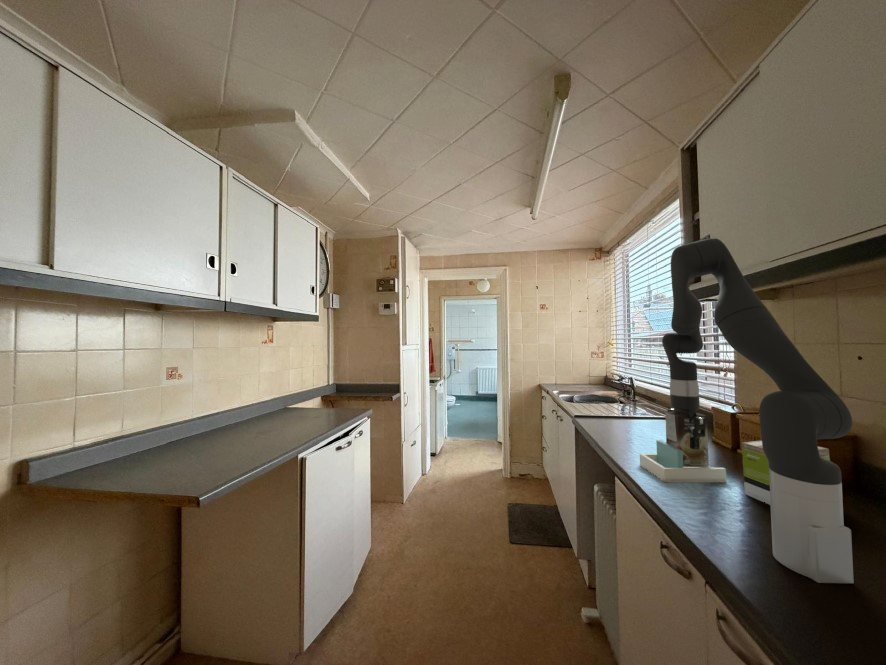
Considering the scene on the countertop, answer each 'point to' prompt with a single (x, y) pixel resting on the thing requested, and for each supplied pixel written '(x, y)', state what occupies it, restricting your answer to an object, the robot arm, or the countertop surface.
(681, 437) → the coffee box
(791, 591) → the countertop surface
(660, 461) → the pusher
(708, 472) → the white rectangular tray
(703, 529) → the countertop surface
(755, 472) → the tea box
